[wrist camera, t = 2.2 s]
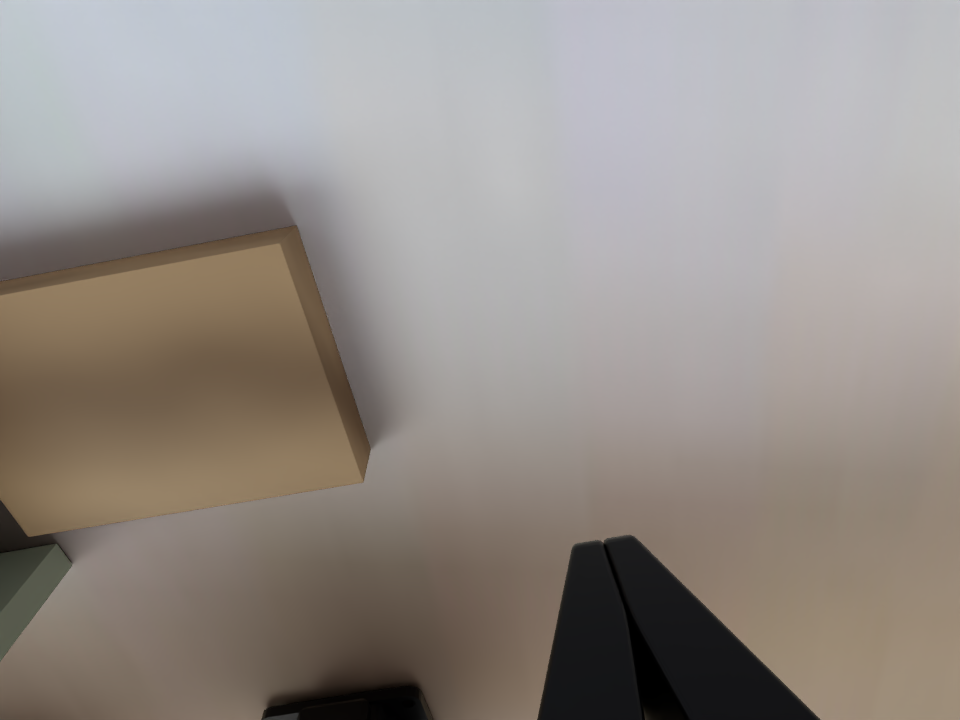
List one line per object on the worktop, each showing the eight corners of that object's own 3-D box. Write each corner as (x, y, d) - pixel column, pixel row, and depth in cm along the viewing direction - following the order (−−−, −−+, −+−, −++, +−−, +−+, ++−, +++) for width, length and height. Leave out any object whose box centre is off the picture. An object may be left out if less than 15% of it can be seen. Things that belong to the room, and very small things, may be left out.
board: (372, 440, 18) (363, 482, 16) (69, 491, 19) (28, 537, 17) (300, 220, 15) (279, 243, 13) (-65, 289, 15) (-133, 320, 14)
